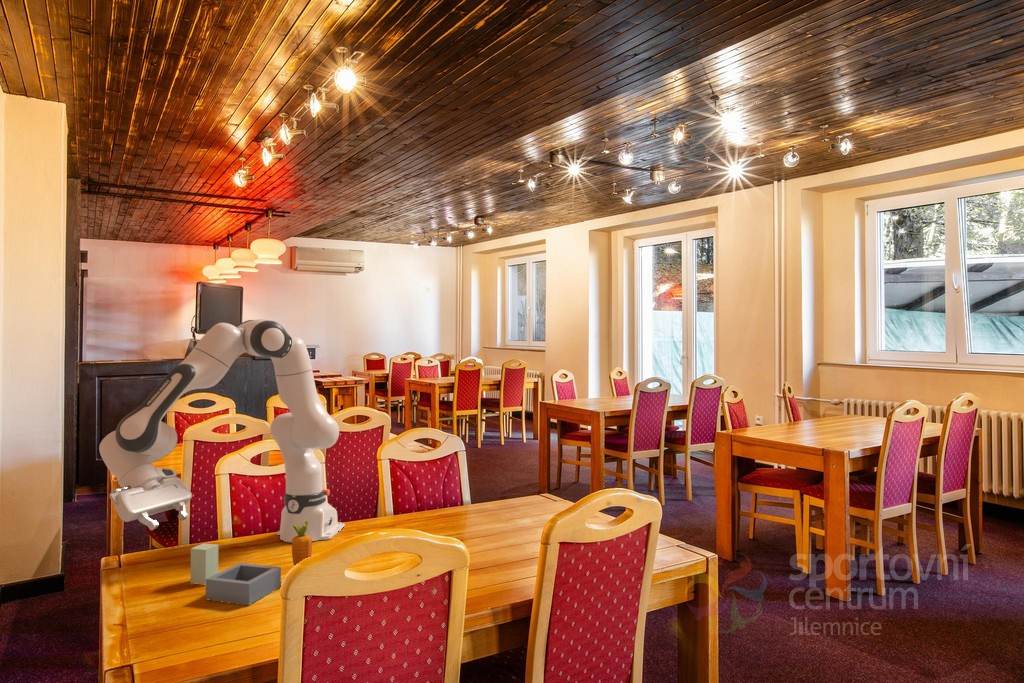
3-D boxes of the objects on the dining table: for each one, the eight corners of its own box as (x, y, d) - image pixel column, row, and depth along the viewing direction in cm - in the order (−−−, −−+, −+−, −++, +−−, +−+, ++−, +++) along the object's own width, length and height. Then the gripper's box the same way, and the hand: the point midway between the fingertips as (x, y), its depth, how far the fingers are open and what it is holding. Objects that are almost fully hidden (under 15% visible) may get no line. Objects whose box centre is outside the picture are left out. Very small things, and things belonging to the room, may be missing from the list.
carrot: (290, 584, 163) (291, 524, 163) (292, 577, 167) (292, 519, 168) (311, 582, 164) (311, 523, 164) (312, 575, 169) (312, 518, 169)
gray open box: (239, 582, 164) (239, 562, 164) (280, 587, 160) (280, 567, 161) (205, 600, 152) (205, 579, 152) (249, 605, 149) (249, 584, 149)
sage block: (203, 577, 167) (203, 543, 167) (218, 579, 166) (218, 544, 166) (190, 584, 163) (190, 548, 163) (205, 585, 161) (205, 550, 161)
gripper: (113, 483, 160) (142, 525, 157) (179, 468, 180) (206, 506, 177) (99, 499, 162) (128, 542, 159) (166, 483, 181) (193, 521, 178)
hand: (170, 523), depth 168 cm, fingers open, 8 cm apart
